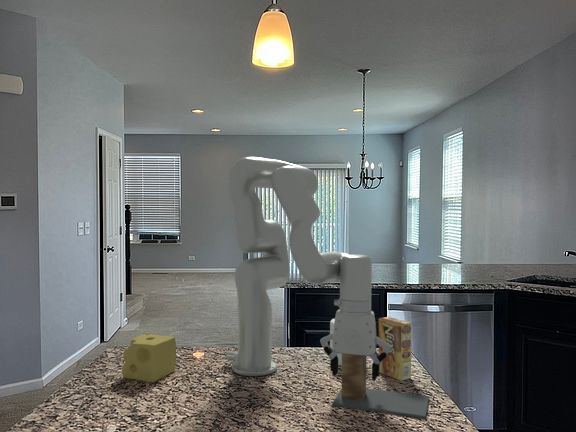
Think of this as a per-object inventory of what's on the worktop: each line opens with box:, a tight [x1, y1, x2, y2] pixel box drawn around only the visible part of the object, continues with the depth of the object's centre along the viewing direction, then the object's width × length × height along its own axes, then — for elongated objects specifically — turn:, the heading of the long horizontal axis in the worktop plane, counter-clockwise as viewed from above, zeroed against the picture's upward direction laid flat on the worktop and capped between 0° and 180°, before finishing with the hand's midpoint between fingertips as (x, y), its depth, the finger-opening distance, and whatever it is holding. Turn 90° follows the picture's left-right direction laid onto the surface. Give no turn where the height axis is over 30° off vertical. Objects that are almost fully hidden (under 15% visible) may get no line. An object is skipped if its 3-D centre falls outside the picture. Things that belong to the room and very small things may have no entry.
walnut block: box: [341, 354, 368, 401], centre depth 119 cm, size 5×5×11 cm
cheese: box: [121, 333, 177, 384], centre depth 134 cm, size 10×11×10 cm
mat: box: [331, 387, 430, 420], centre depth 117 cm, size 21×12×1 cm, turn 71°
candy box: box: [378, 316, 412, 382], centre depth 135 cm, size 9×4×15 cm, turn 33°
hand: (354, 376), depth 119 cm, fingers open, 9 cm apart
